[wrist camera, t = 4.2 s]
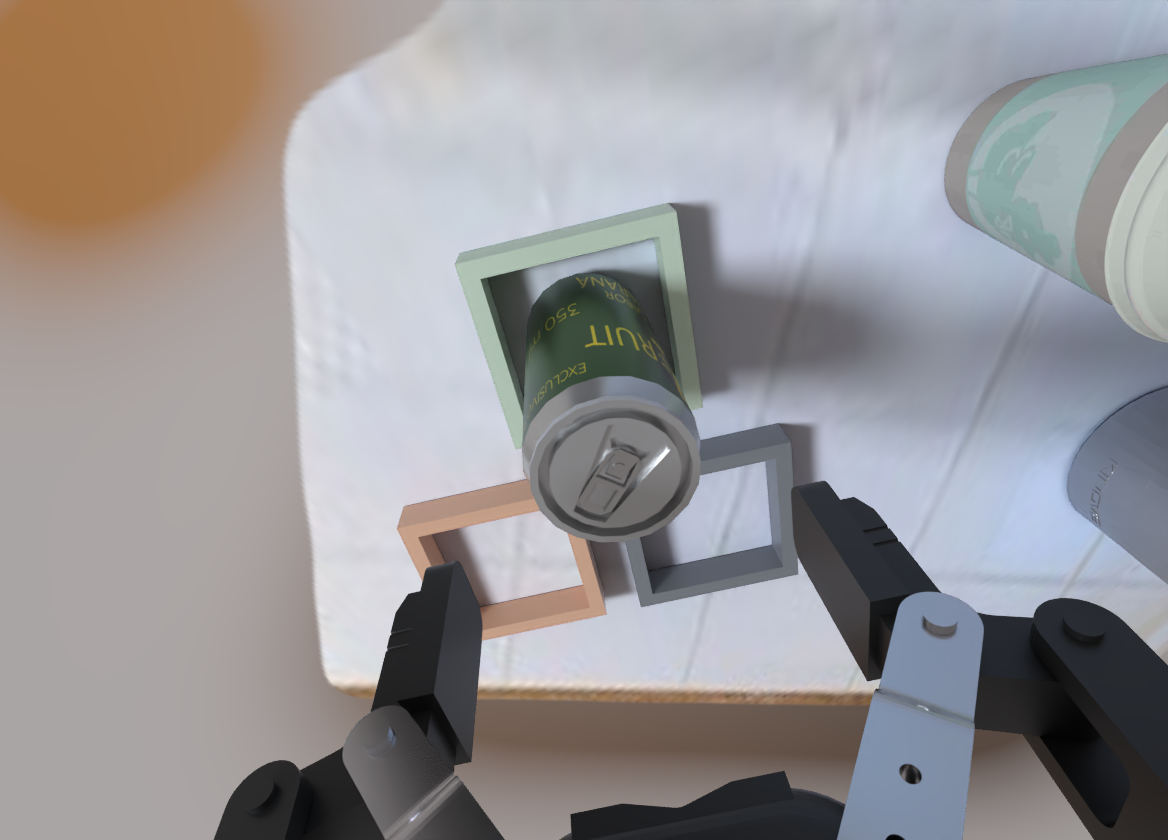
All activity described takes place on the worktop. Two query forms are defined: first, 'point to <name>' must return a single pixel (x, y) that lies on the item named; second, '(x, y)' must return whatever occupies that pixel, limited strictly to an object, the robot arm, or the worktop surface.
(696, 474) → the beer can
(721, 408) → the worktop surface
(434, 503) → the terracotta frame
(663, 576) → the charcoal frame
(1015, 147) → the coffee cup
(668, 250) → the sage frame
